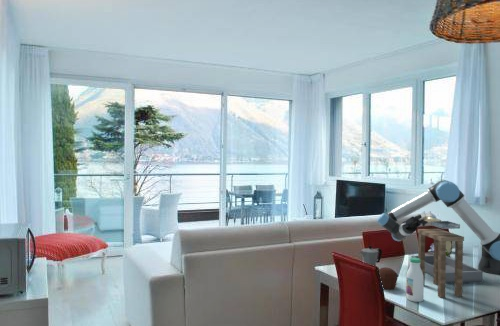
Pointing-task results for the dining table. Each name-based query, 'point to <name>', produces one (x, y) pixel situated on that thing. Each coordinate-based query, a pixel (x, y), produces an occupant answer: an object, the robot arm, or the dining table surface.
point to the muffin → (388, 278)
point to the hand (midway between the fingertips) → (427, 213)
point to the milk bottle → (415, 281)
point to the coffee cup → (448, 246)
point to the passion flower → (433, 250)
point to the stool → (442, 258)
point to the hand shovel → (441, 223)
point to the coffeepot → (371, 255)
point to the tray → (453, 270)
